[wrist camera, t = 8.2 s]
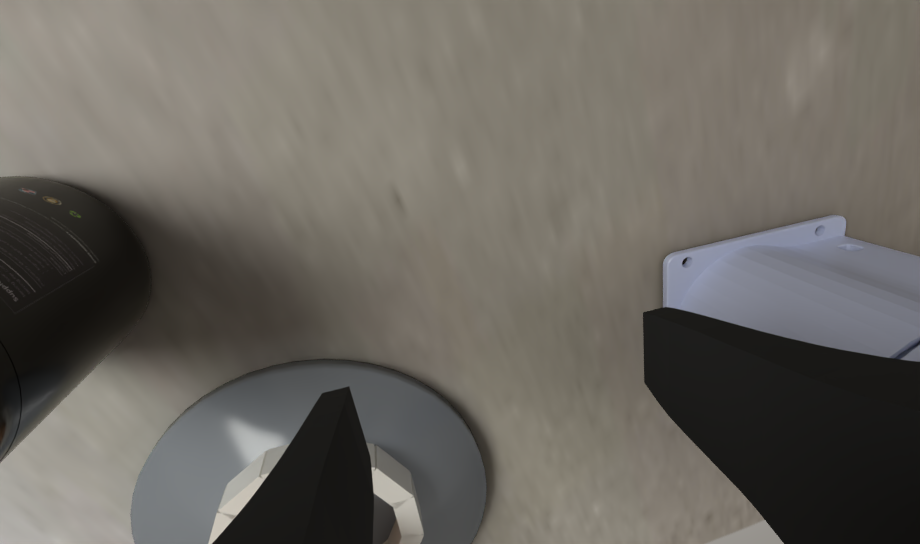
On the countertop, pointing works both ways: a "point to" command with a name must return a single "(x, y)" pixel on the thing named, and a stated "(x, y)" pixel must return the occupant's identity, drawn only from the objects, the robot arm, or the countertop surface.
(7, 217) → the supplement bottle
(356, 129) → the countertop surface
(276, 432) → the tray
